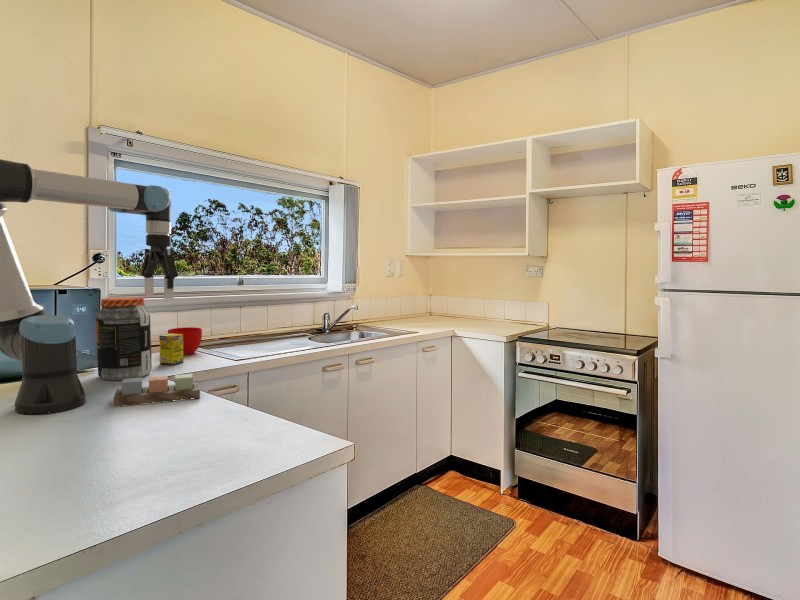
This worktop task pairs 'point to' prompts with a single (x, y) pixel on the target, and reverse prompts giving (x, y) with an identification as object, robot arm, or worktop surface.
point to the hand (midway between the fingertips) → (158, 297)
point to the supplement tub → (123, 339)
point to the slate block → (131, 386)
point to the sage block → (183, 382)
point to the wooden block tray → (156, 395)
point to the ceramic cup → (189, 338)
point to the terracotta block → (158, 384)
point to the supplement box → (171, 349)
